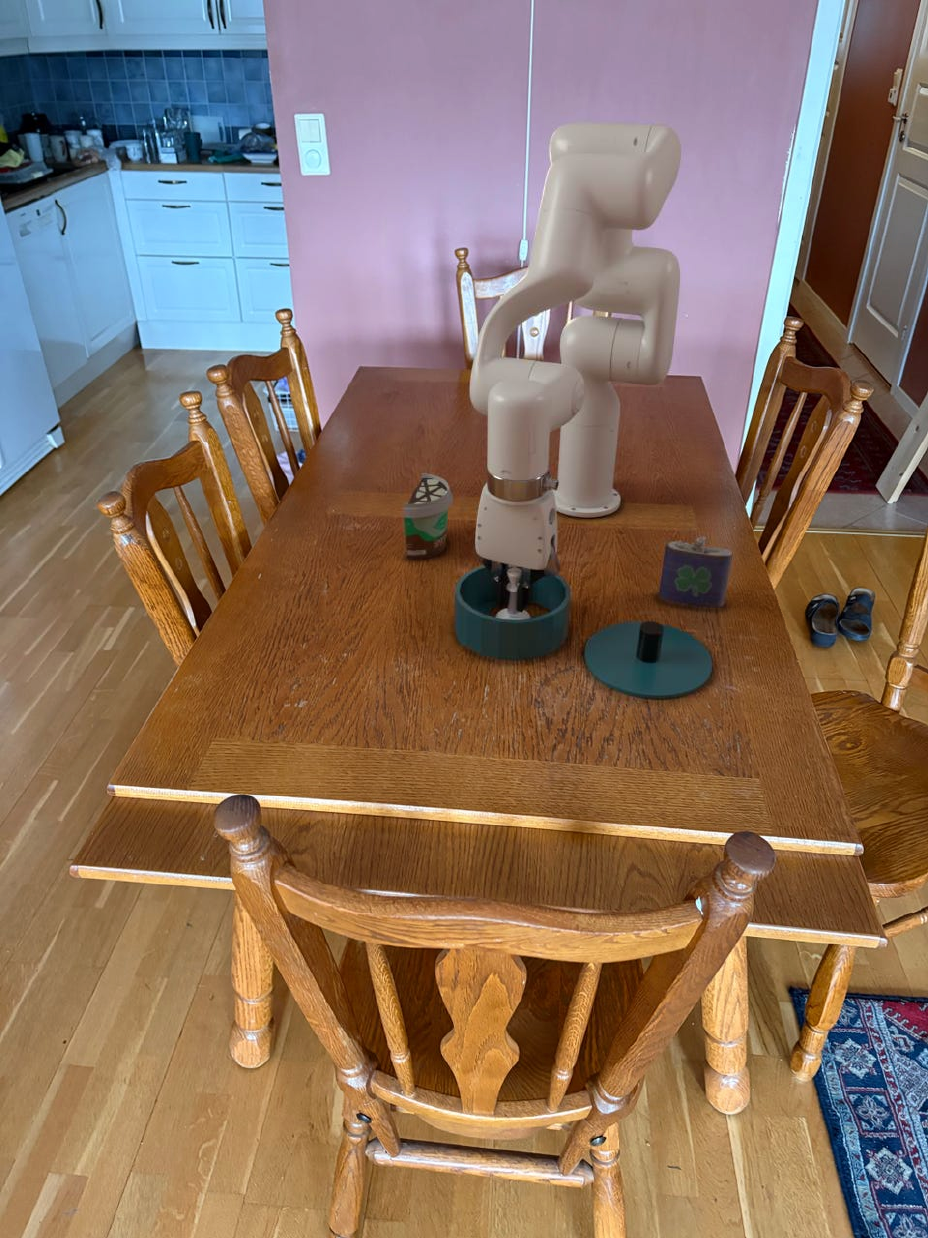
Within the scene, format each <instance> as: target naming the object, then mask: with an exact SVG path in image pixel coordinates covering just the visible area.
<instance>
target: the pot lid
mask: <svg viewBox="0 0 928 1238" xmlns="http://www.w3.org/2000/svg"><path fill="white" fill-rule="evenodd" d="M583 658H584V663H585V666H586V667H587V669H588V671H589V672H590V673H591V675H593V677H594V678H595V679H597V680H598V681H599V682H600V683H601V684H603V685H605V686H607V687H608V688H610V689H612V690H614V691H616V692H619V693H622V694H625V695H627V696H631V697H636V698H641V699H648V700H649V699H650V700H667V699H676V698H681V697H684V696H687V695H690V694H693V693H694V692H696V691H698V690H699V689H701V688H702V687H704V685H706V683H707V682H708V681H709V679H710V678H711V675H712V671H713V660H712V656H711V654H710V652H709V650H708V649H707V648H706V646H705V645H704V644H703V643H702V642H701V641H699V640H698V639H697V638H696V637H694V636H693V635H692V634H689V633H687V632H686V631H683V630H682V629H679V628H676V627H673V626H671V625H667V624H663V623H659V622H657V621H652V620H648V621H623V622H618V623H614V624H610V625H607V626H605V627H603V628H601V629H600V630H598V631H596V632H595V633H593V634H592V635H591V636H590V637H589V639H588V640H587V641H586V644H585V646H584V652H583Z"/></svg>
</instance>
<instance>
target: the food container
mask: <svg viewBox="0 0 928 1238" xmlns="http://www.w3.org/2000/svg"><path fill="white" fill-rule="evenodd" d="M420 475H421V476H420V478H421V479H420V481H419V483H418V485H417V486H416V488H414V490H413V491H412V494H411V496H410V498H409V501H408V502H407V503H403V508H402V518H403V519H404V533H405V546H406V547H405V548H406V560H414V561H415V560H424V559H429V558H433V557H436V556H437V555H439V554H441V553H442V552H443V551H444V550H445V549H446V546H447V545H446V543H447V529H448V516H449V508H450V507H451V506H452V504H453V500H454V499H453V498H454V497H453V494H452V489H451V488H450V485H449V483H448V482H447V481H446V480H445V479H444V478H442V477H440V476H438V475H435V474H433V473H426V472H421V474H420Z"/></svg>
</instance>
